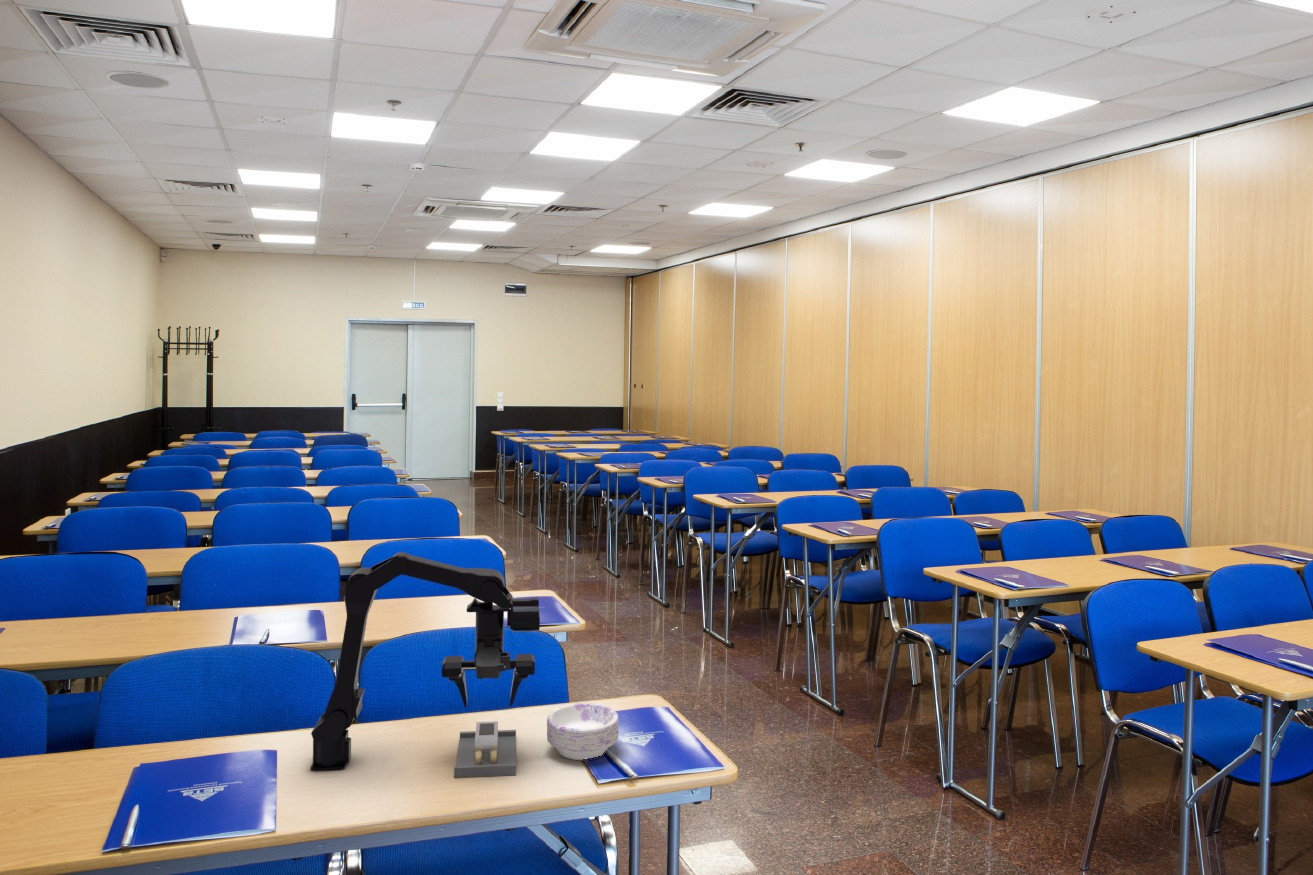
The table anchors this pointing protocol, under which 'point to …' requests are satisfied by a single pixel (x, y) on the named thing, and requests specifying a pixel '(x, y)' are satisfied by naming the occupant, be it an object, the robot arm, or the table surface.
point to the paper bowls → (582, 730)
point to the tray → (498, 766)
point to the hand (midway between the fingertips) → (488, 705)
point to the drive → (486, 738)
